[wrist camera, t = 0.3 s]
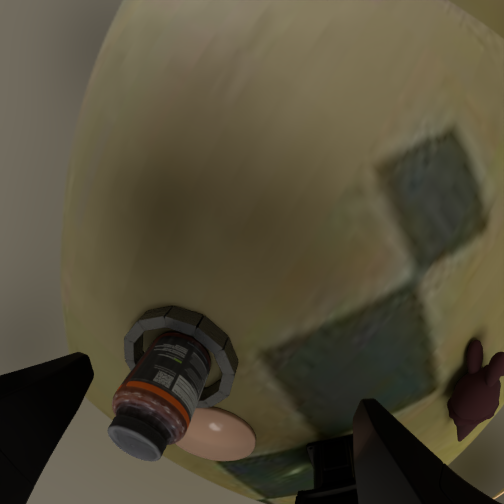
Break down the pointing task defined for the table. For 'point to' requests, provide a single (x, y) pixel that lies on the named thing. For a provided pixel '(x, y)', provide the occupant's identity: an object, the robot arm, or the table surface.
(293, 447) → the table surface
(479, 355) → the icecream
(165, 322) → the cup collar
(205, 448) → the terracotta saucer
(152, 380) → the supplement bottle
